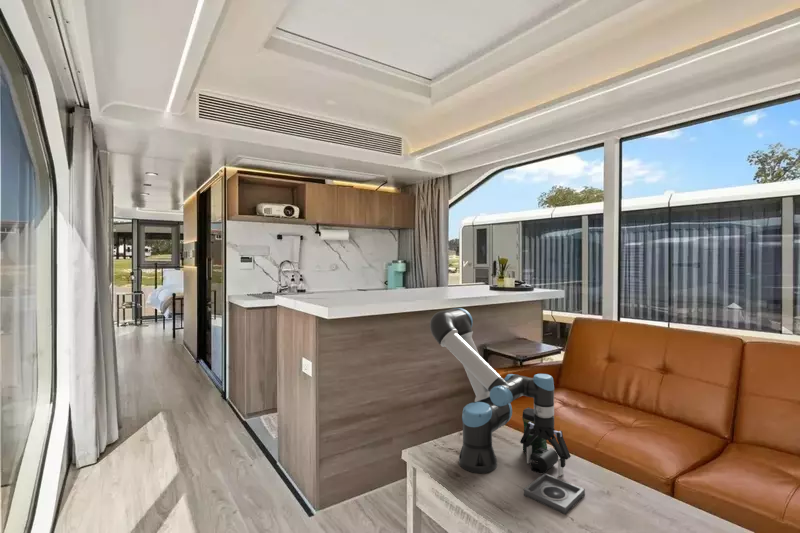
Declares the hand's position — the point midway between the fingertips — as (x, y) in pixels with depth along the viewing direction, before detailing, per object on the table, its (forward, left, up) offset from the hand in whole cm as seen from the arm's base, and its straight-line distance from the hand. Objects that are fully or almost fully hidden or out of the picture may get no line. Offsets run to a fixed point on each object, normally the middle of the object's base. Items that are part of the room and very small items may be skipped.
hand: (544, 468), depth 164 cm
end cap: (0, 0, -1) cm, 1 cm away
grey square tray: (+11, -14, 0) cm, 18 cm away
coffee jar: (-9, +9, 0) cm, 13 cm away
